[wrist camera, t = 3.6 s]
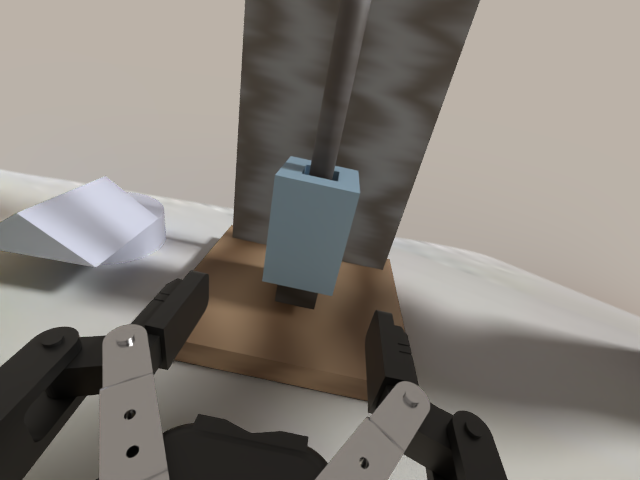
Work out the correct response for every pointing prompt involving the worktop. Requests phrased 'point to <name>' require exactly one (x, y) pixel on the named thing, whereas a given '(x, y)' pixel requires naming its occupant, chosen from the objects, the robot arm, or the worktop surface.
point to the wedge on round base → (88, 226)
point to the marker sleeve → (309, 226)
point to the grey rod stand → (325, 176)
